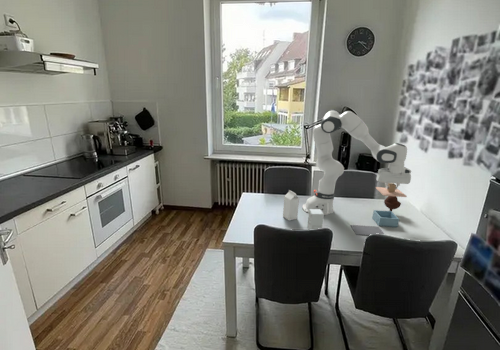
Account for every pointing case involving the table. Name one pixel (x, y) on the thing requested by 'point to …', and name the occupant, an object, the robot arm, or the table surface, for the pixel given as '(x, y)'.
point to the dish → (385, 218)
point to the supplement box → (315, 219)
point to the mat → (366, 230)
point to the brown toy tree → (392, 202)
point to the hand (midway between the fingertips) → (391, 189)
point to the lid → (391, 191)
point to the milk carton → (290, 206)
